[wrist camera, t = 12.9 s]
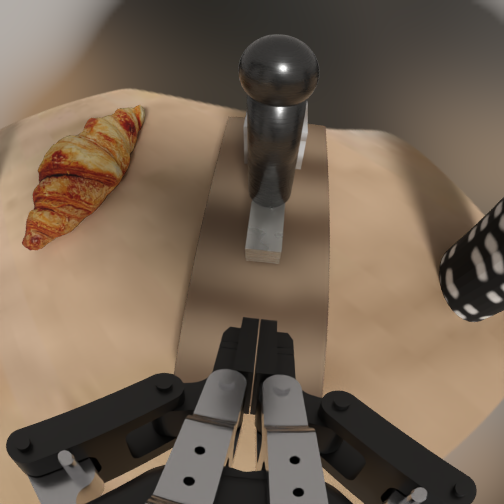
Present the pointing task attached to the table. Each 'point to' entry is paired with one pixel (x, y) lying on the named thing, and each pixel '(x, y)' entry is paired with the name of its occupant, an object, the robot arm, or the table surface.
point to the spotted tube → (476, 269)
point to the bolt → (273, 133)
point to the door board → (261, 263)
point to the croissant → (81, 174)
